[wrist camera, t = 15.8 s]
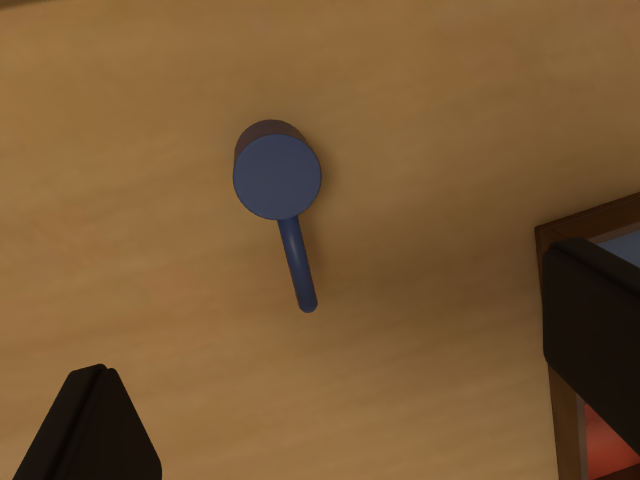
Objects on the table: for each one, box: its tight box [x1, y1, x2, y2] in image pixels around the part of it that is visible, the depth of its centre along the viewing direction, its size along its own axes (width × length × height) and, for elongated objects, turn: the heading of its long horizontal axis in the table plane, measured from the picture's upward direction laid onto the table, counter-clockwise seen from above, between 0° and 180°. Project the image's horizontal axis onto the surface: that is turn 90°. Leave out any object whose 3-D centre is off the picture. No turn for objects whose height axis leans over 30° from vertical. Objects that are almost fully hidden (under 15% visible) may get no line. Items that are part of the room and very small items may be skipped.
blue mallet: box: [233, 120, 321, 313], centre depth 24 cm, size 10×4×4 cm, turn 11°
